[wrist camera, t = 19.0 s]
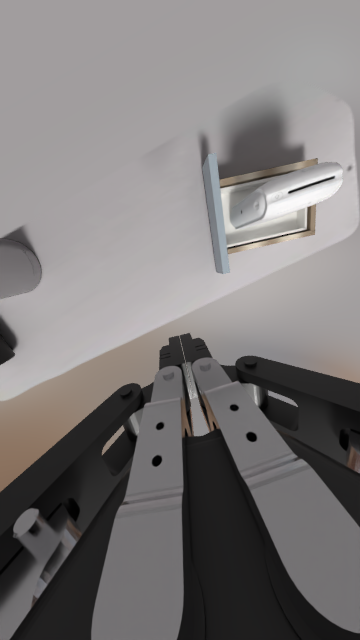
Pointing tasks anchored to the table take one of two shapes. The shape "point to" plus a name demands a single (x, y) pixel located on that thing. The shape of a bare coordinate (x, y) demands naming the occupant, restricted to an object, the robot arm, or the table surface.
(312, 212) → the dock housing
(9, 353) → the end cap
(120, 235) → the table surface
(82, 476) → the robot arm
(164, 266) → the table surface
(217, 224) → the tray
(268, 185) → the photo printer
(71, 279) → the table surface
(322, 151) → the table surface
